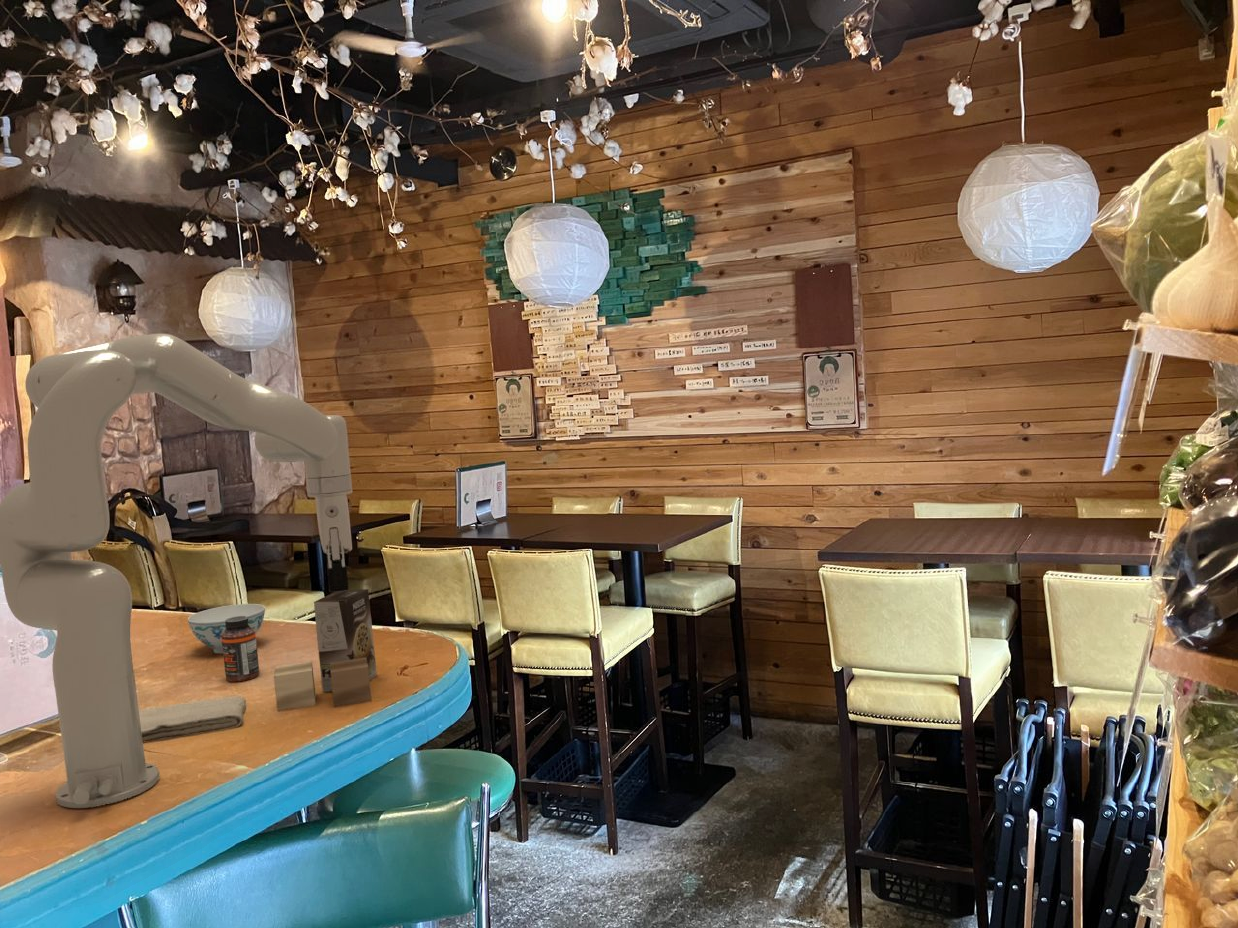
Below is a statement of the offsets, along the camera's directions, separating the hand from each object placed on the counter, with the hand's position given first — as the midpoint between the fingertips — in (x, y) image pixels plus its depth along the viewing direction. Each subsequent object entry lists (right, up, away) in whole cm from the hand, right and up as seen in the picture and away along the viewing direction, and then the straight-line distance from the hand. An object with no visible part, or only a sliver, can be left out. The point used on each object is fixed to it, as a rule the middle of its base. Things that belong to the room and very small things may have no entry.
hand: (339, 589), depth 172 cm
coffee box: (+2, -17, +2) cm, 17 cm away
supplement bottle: (-21, -18, +11) cm, 30 cm away
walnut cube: (+4, -18, -7) cm, 19 cm away
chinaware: (-32, -17, +33) cm, 49 cm away
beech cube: (-5, -18, -6) cm, 20 cm away
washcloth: (-21, -21, -13) cm, 32 cm away
